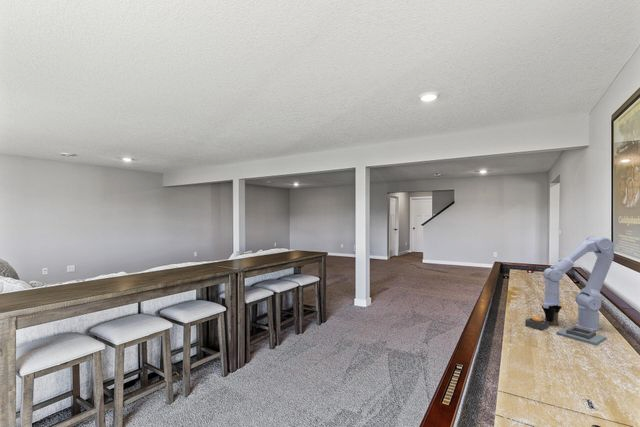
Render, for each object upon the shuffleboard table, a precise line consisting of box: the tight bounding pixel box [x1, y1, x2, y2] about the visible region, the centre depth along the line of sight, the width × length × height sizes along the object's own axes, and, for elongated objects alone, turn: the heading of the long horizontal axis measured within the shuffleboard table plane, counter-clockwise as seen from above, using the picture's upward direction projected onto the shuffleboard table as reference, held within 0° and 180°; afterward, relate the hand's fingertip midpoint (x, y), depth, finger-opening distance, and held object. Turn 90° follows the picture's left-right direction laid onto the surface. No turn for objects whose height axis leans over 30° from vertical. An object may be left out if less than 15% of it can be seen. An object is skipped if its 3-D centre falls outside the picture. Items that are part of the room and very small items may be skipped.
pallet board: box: [555, 326, 607, 346], centre depth 140 cm, size 13×14×2 cm
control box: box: [524, 317, 549, 331], centre depth 152 cm, size 7×7×3 cm
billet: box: [544, 312, 559, 327], centre depth 156 cm, size 4×4×6 cm
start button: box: [531, 315, 543, 323], centre depth 152 cm, size 4×4×2 cm
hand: (551, 320), depth 156 cm, fingers closed on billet, 4 cm apart
